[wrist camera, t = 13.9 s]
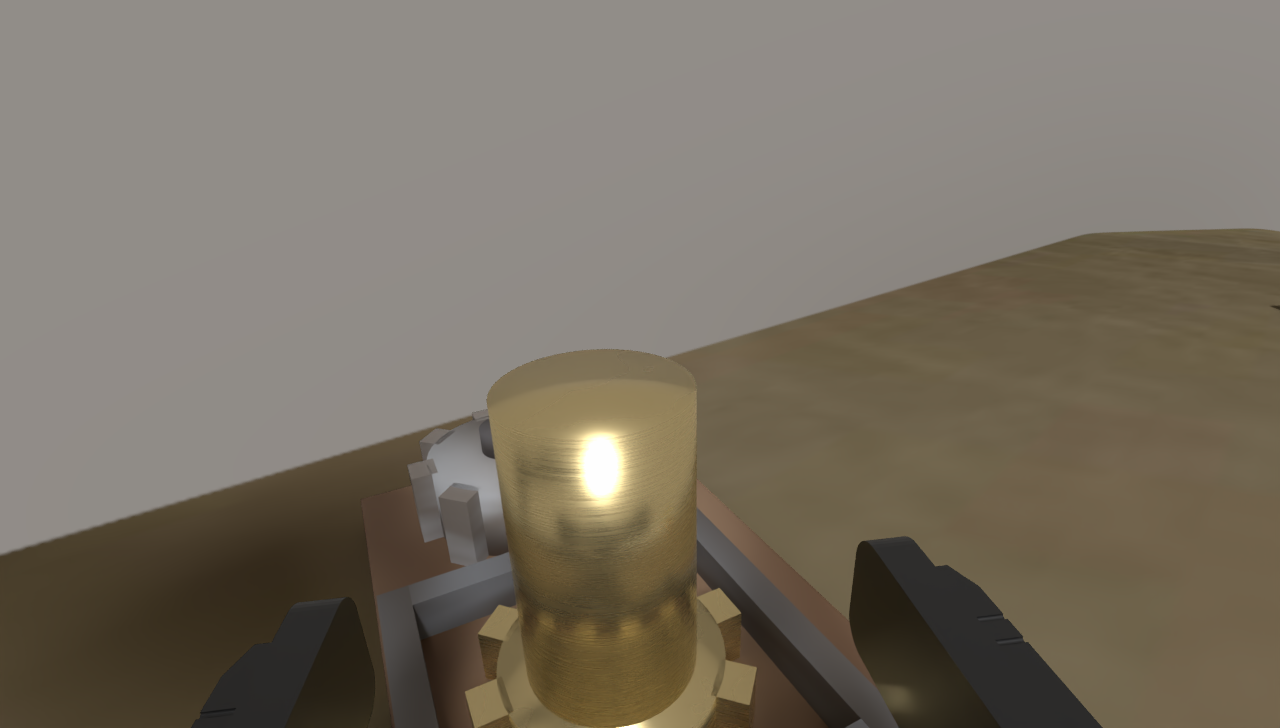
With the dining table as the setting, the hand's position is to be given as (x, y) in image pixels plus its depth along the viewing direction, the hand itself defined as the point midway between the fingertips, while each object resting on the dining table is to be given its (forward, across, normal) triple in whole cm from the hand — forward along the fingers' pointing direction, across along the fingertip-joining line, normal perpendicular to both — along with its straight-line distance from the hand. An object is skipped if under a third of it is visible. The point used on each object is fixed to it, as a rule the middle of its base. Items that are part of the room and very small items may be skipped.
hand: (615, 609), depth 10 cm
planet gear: (+6, 0, +9) cm, 10 cm away
